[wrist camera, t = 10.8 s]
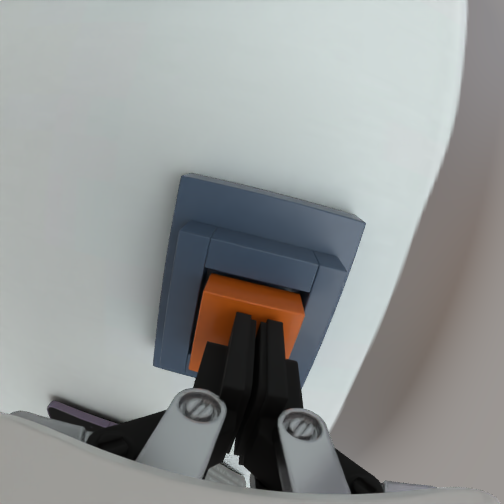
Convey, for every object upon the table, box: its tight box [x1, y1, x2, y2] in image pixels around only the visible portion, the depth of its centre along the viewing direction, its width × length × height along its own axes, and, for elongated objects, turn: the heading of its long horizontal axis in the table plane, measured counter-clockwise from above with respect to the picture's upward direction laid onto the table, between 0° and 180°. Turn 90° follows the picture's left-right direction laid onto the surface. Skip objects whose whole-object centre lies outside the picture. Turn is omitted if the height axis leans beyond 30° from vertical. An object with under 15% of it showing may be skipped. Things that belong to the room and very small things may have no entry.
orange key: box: [189, 273, 305, 372], centre depth 12 cm, size 4×4×2 cm
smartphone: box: [47, 401, 117, 432], centre depth 21 cm, size 7×1×15 cm
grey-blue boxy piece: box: [153, 173, 366, 389], centre depth 14 cm, size 10×8×4 cm
